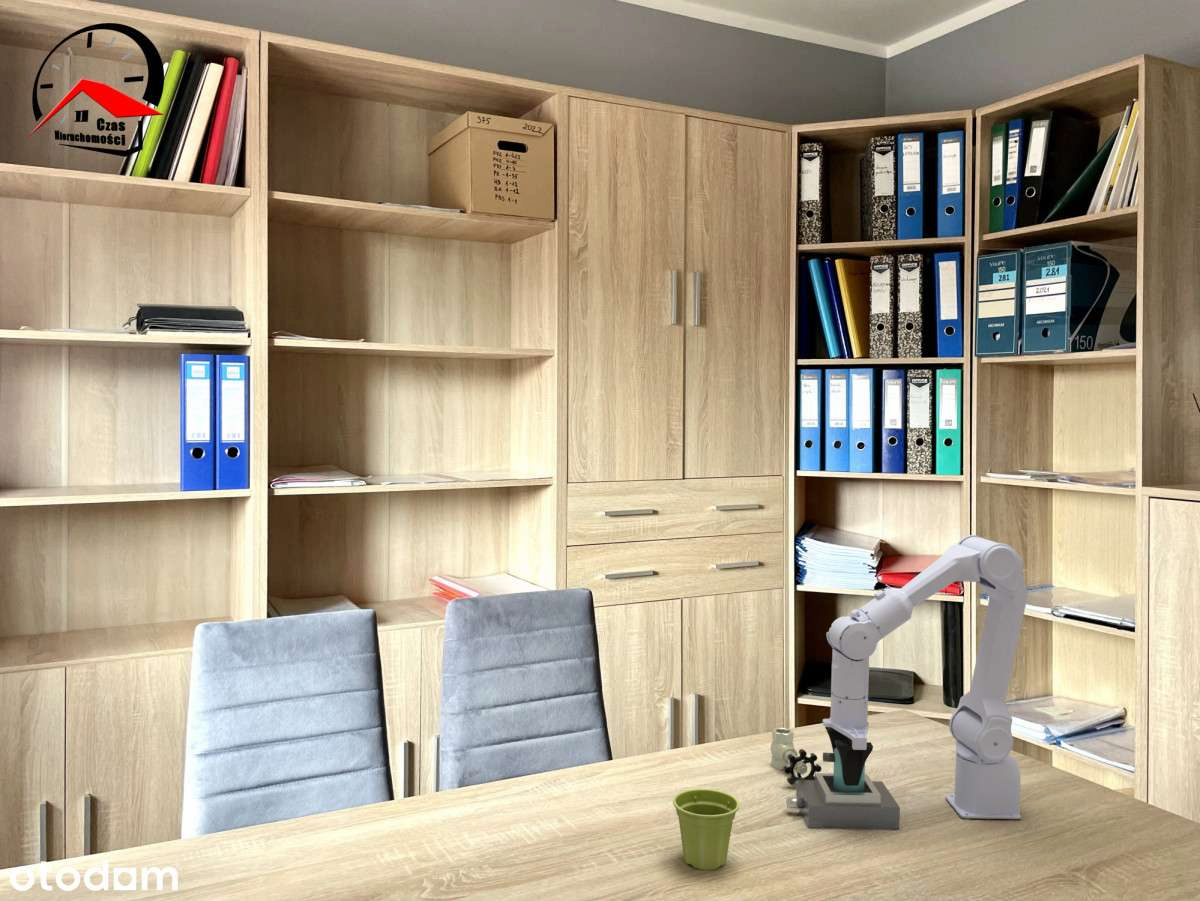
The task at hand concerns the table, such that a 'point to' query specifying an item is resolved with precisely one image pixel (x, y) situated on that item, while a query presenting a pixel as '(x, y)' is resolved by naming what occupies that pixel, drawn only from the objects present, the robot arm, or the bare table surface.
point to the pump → (838, 777)
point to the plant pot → (705, 826)
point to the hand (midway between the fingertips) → (847, 777)
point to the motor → (845, 805)
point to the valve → (791, 756)
